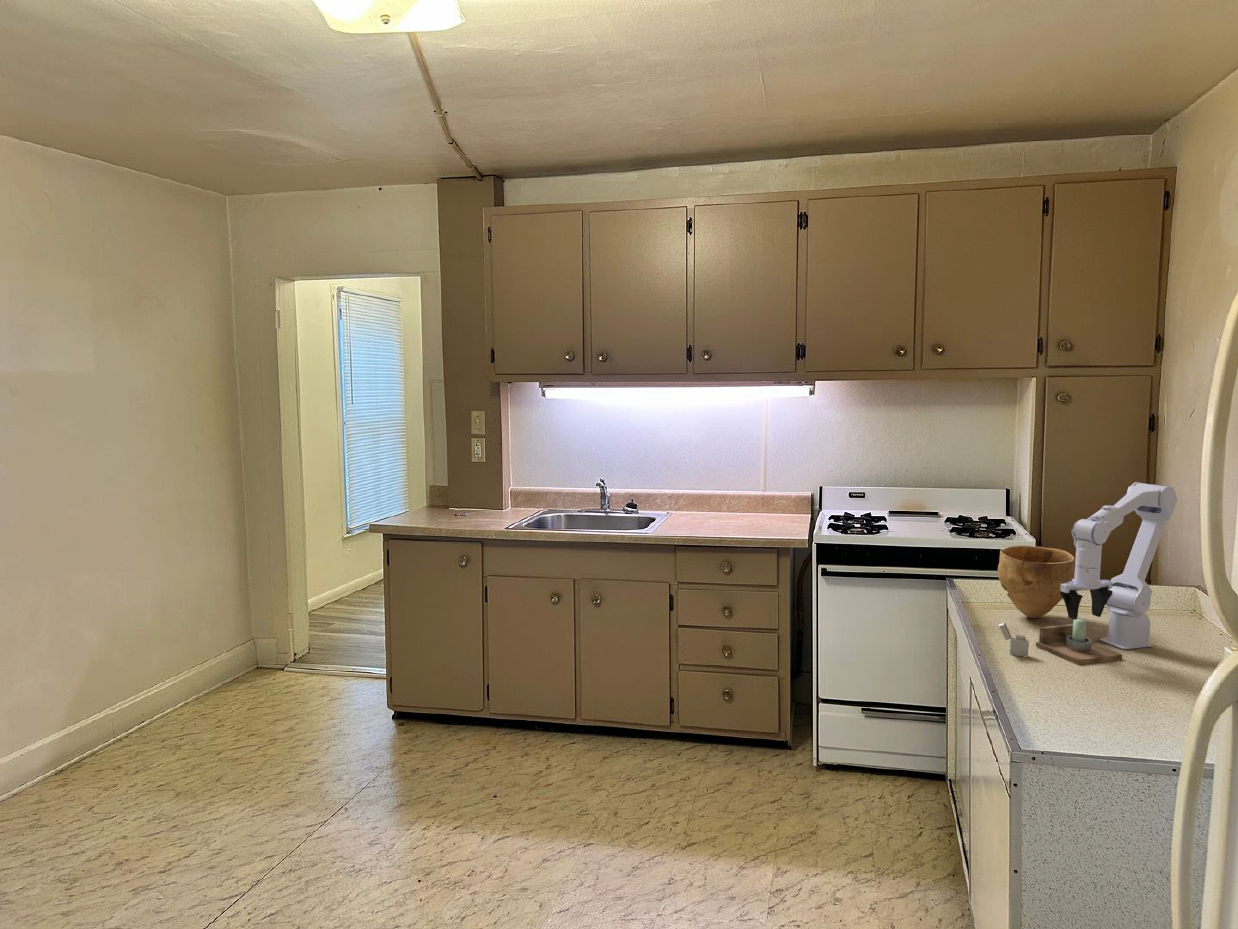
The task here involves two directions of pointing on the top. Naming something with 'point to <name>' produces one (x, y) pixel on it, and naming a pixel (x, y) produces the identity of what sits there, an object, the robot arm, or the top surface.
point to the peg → (1079, 630)
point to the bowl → (1034, 577)
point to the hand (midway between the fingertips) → (1084, 617)
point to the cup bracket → (1073, 646)
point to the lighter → (1015, 642)
